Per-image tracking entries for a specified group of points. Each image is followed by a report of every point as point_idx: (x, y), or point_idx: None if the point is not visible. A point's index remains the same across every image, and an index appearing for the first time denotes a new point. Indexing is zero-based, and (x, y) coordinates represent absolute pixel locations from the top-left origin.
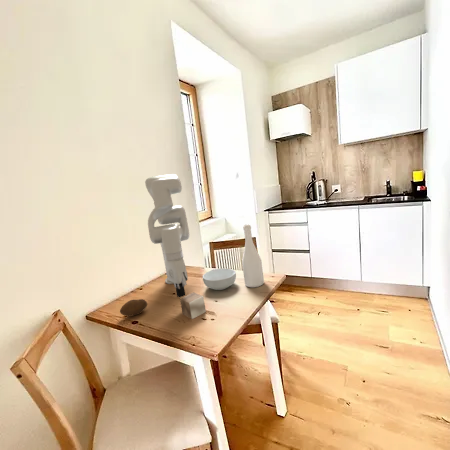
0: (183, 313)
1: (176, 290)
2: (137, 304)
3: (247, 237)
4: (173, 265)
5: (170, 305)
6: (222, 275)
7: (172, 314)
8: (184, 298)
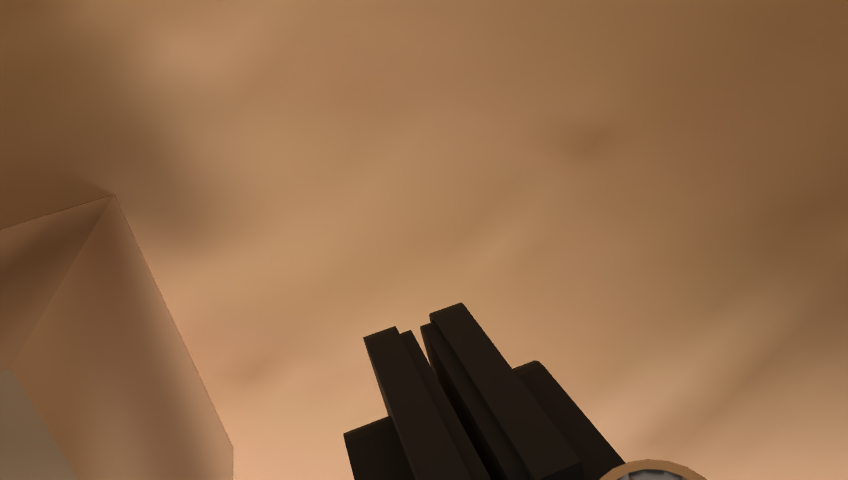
0: (65, 215)
1: (513, 421)
2: None
3: None
4: None
5: (637, 85)
6: None
7: (246, 14)
8: None
